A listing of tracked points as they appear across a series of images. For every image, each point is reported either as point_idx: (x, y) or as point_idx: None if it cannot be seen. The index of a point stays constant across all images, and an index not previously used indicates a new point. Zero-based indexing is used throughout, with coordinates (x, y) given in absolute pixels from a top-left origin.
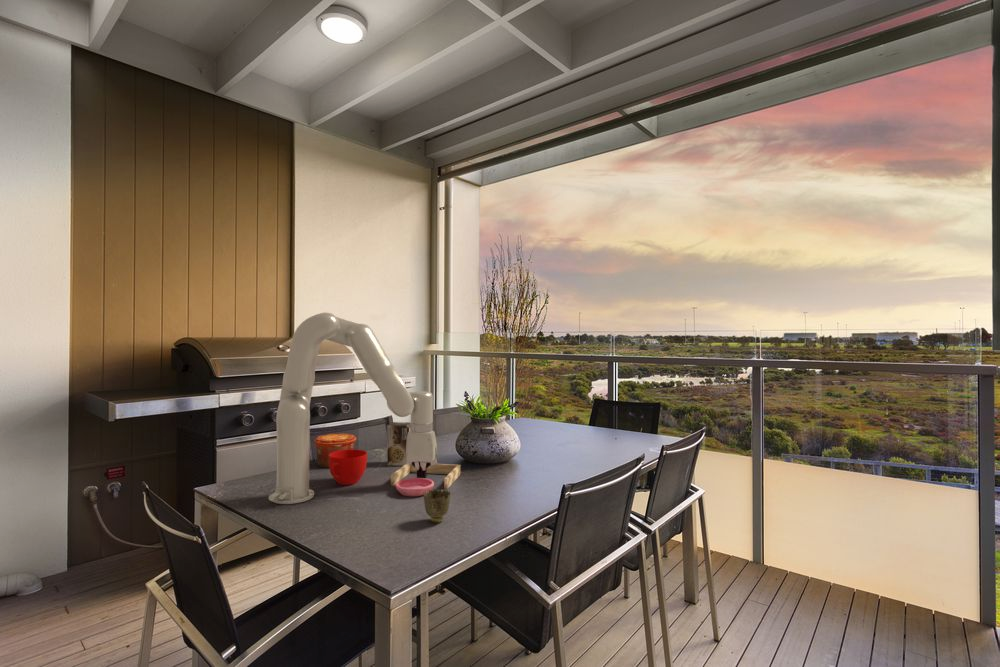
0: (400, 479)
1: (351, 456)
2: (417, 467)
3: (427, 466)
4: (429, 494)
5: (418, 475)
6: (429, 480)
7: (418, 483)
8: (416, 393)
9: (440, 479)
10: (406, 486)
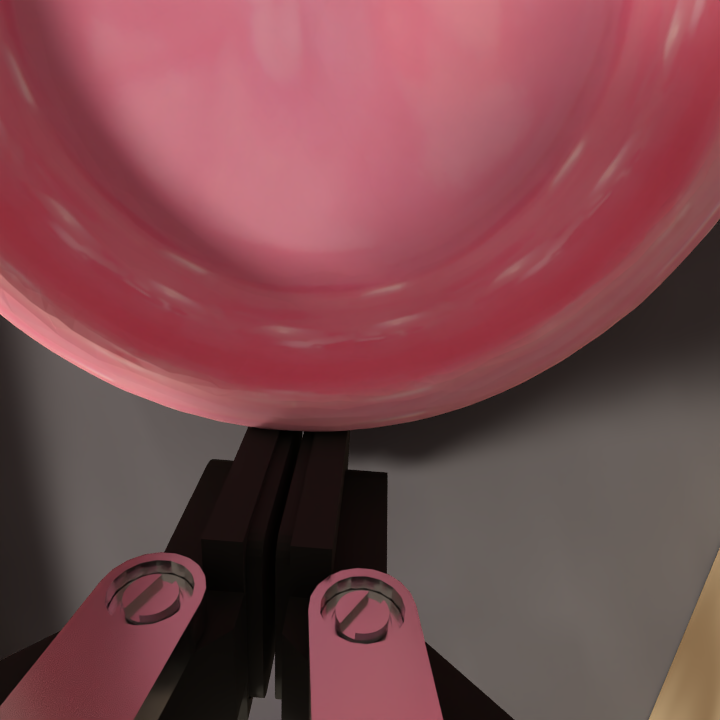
0: (698, 615)
1: None
2: (355, 646)
3: (24, 675)
4: None
5: (331, 468)
6: (24, 282)
7: (322, 326)
8: None
9: None
10: (539, 181)
